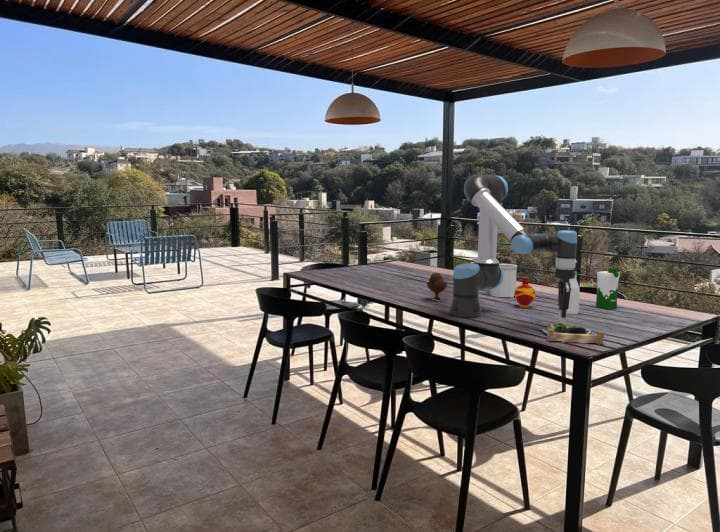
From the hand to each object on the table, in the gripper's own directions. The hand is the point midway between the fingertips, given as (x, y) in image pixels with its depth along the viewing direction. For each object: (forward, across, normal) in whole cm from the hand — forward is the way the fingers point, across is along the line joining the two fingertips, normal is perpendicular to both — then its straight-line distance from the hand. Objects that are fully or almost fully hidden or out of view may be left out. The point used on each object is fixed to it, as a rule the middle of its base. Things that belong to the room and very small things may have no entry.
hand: (562, 324), depth 208 cm
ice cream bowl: (+2, +52, +53) cm, 74 cm away
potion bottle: (+2, +43, +9) cm, 44 cm away
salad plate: (+2, -10, 0) cm, 11 cm away
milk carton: (+2, +49, -31) cm, 58 cm away
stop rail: (+2, -22, 0) cm, 22 cm away
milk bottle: (+2, +32, -10) cm, 34 cm away
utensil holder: (+2, +73, +17) cm, 75 cm away
